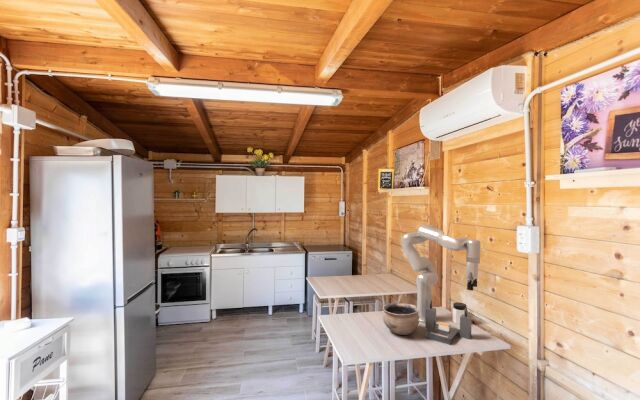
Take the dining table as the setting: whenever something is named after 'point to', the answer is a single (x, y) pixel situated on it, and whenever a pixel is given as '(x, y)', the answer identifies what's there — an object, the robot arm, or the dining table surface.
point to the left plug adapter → (430, 316)
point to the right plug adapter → (465, 325)
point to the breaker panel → (443, 334)
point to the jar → (458, 311)
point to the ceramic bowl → (401, 317)
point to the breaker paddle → (444, 326)
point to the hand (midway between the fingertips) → (472, 288)
